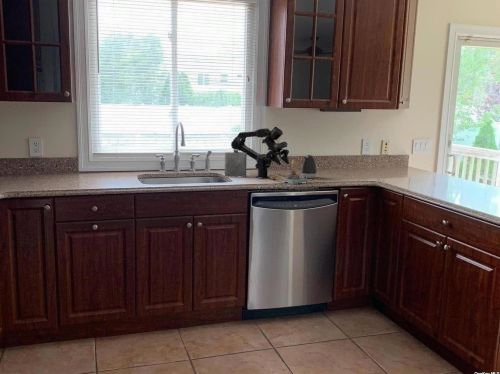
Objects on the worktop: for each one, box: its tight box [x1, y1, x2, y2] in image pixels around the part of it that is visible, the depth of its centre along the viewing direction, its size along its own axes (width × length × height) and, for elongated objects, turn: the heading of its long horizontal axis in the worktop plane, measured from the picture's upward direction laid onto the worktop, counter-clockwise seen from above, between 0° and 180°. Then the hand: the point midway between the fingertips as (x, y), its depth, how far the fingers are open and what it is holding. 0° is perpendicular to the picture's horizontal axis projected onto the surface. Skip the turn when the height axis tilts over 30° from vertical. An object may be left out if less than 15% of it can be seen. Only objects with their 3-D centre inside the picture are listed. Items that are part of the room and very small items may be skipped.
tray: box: [280, 177, 307, 185], centre depth 312 cm, size 11×11×3 cm
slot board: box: [269, 173, 289, 181], centre depth 322 cm, size 12×10×3 cm
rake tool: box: [287, 159, 301, 180], centre depth 311 cm, size 5×5×13 cm
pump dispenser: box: [301, 154, 318, 179], centre depth 330 cm, size 10×10×15 cm
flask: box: [224, 148, 248, 177], centre depth 331 cm, size 4×14×18 cm, turn 86°
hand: (284, 164), depth 316 cm, fingers open, 9 cm apart
